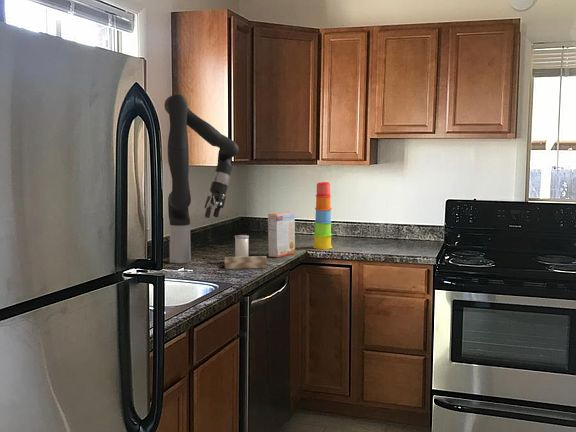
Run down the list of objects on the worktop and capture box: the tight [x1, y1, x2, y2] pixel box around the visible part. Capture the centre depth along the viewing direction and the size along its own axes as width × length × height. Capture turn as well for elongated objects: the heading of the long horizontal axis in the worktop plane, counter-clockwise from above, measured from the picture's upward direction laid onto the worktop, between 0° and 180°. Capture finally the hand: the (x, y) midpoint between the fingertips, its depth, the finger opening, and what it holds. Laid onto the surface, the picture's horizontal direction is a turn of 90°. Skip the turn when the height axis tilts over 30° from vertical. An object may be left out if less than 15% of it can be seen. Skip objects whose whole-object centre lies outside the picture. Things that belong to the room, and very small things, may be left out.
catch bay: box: [224, 255, 268, 270], centre depth 273 cm, size 18×11×5 cm, turn 97°
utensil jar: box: [234, 234, 250, 257], centre depth 284 cm, size 6×6×12 cm
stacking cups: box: [312, 181, 333, 250], centre depth 326 cm, size 10×10×35 cm
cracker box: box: [267, 211, 296, 258], centre depth 302 cm, size 14×6×21 cm, turn 141°
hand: (211, 217), depth 281 cm, fingers open, 8 cm apart
